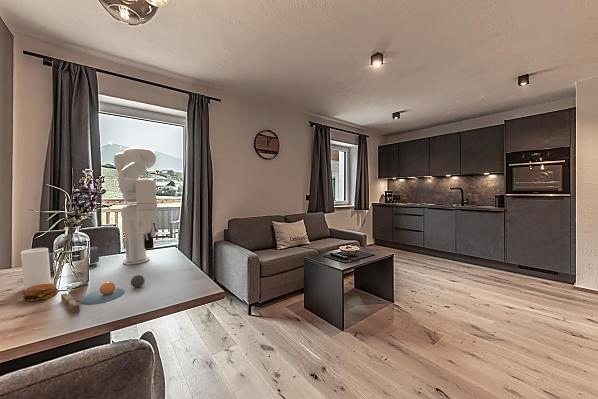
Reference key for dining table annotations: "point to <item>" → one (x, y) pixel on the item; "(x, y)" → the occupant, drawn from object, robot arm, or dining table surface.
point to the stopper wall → (70, 303)
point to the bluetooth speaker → (93, 257)
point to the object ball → (107, 288)
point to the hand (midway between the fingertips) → (149, 248)
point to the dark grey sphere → (137, 281)
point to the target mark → (101, 297)
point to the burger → (40, 292)
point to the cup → (35, 267)
